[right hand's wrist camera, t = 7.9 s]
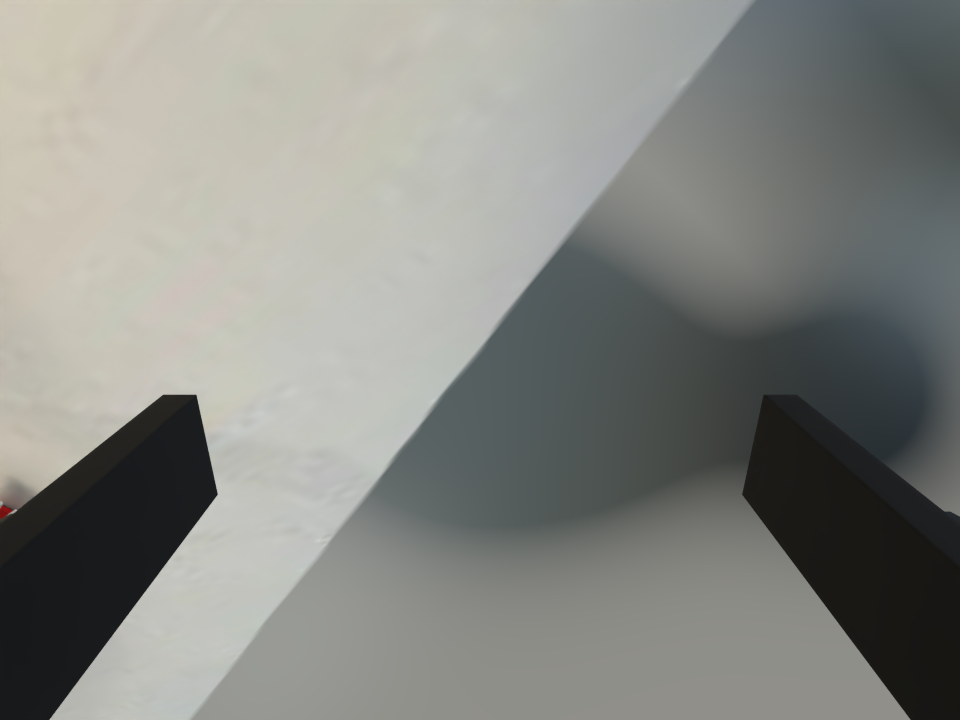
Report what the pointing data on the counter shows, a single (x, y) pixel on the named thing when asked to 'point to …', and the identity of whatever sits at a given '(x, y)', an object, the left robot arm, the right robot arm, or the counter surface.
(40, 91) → the counter surface
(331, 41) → the counter surface
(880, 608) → the right robot arm
